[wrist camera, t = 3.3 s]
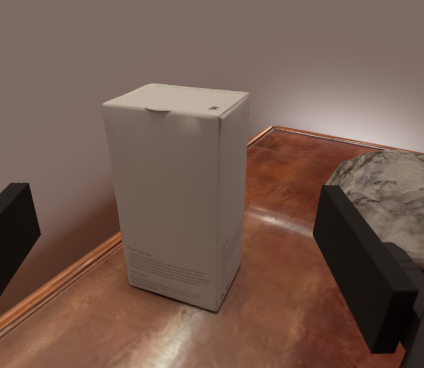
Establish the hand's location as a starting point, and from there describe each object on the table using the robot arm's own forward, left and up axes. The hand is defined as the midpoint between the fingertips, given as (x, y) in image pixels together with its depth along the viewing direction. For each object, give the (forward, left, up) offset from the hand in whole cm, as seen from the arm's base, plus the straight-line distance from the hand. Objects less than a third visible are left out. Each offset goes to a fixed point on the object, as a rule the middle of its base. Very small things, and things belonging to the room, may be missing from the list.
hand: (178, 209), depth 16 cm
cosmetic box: (+1, +10, -13) cm, 16 cm away
